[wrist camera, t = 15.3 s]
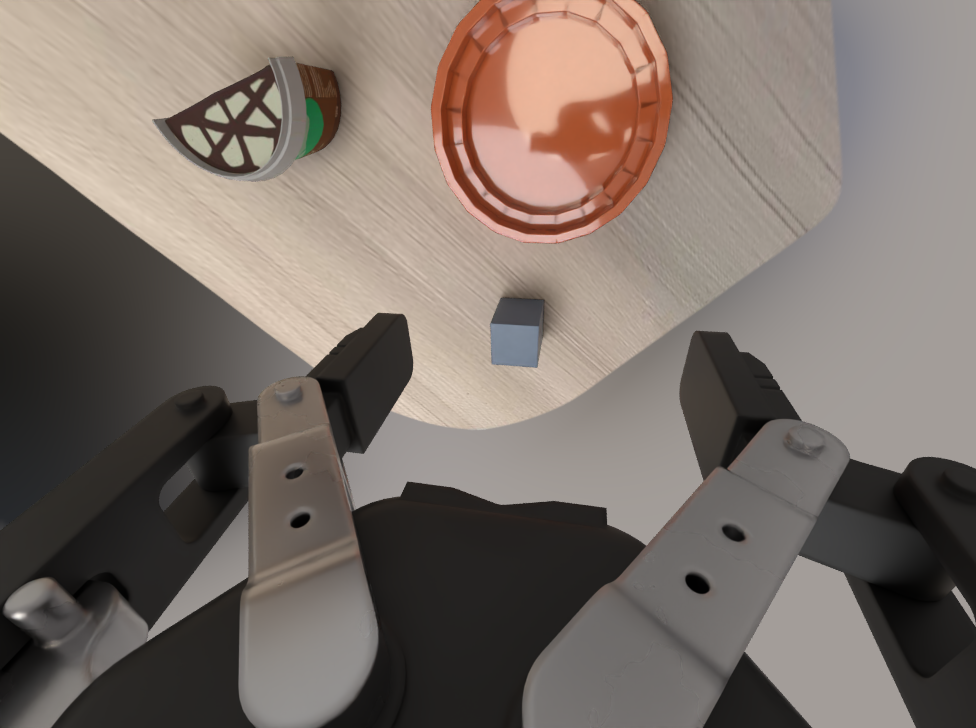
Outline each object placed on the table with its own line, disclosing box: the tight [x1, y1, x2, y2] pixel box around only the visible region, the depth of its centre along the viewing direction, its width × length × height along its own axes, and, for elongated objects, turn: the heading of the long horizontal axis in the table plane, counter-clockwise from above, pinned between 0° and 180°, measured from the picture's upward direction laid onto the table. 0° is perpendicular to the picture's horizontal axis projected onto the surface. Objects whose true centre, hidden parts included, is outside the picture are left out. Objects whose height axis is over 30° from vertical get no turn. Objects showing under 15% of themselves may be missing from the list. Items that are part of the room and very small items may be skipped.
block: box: [490, 298, 544, 368], centre depth 42 cm, size 4×4×6 cm
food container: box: [152, 57, 341, 182], centre depth 35 cm, size 12×6×10 cm, turn 109°
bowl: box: [431, 0, 673, 243], centre depth 33 cm, size 18×18×4 cm
